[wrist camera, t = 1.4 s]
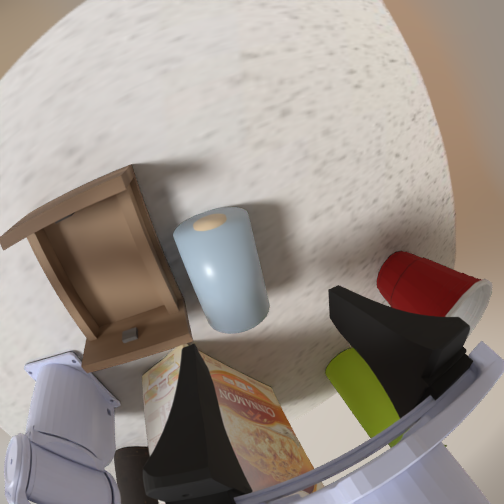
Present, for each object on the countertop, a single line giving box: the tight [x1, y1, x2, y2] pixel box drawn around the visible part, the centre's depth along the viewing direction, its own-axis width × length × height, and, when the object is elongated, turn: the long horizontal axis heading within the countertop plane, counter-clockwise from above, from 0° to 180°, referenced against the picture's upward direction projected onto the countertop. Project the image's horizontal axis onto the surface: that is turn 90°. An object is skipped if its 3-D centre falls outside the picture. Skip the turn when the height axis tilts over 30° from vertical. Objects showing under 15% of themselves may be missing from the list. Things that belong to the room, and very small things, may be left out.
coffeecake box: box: [142, 344, 324, 504], centre depth 19 cm, size 15×7×20 cm, turn 39°
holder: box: [0, 164, 193, 373], centre depth 16 cm, size 12×9×5 cm
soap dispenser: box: [325, 348, 447, 448], centre depth 25 cm, size 6×7×20 cm
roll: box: [173, 207, 270, 334], centre depth 19 cm, size 8×5×5 cm, turn 13°
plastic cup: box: [377, 251, 492, 338], centre depth 24 cm, size 11×11×12 cm
